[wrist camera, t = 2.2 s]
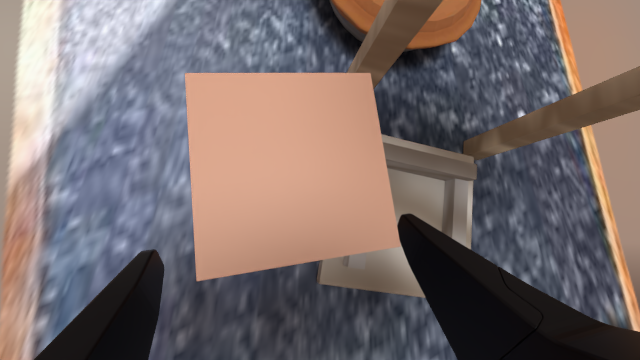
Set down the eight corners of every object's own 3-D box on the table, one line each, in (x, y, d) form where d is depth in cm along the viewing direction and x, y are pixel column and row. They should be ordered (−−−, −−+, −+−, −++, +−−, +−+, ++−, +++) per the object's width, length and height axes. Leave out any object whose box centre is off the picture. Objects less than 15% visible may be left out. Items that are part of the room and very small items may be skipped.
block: (313, 232, 19) (401, 246, 7) (244, 242, 18) (196, 281, 6) (305, 168, 20) (370, 73, 7) (238, 174, 19) (184, 72, 6)
